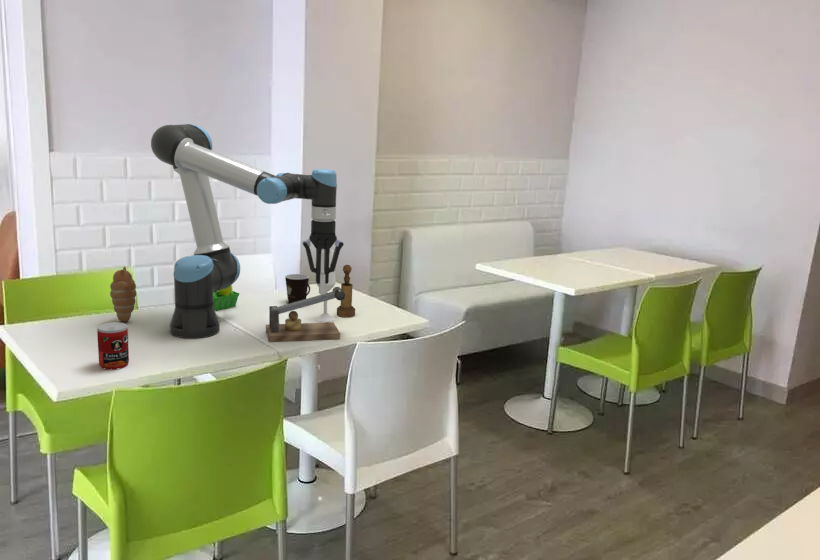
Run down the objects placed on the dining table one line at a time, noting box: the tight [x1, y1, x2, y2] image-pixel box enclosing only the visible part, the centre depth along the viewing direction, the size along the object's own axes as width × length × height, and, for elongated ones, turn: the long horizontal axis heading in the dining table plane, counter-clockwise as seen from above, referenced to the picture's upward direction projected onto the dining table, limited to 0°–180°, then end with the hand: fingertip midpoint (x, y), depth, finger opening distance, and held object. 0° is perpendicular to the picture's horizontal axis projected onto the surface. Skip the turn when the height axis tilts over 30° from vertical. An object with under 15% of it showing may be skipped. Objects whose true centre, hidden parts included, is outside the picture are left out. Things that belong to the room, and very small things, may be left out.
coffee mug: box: [284, 273, 311, 304], centre depth 267 cm, size 12×9×10 cm
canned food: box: [96, 321, 130, 370], centre depth 198 cm, size 8×8×11 cm
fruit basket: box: [213, 284, 240, 311], centre depth 257 cm, size 11×9×11 cm
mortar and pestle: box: [336, 264, 356, 318], centre depth 255 cm, size 7×6×18 cm
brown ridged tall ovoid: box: [109, 266, 137, 323], centre depth 235 cm, size 9×8×18 cm
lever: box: [270, 286, 345, 315], centre depth 230 cm, size 24×6×3 cm, turn 105°
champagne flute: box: [315, 248, 337, 323], centre depth 248 cm, size 7×7×24 cm
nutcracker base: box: [265, 305, 341, 343], centre depth 231 cm, size 22×12×9 cm, turn 106°
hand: (321, 293), depth 231 cm, fingers closed
